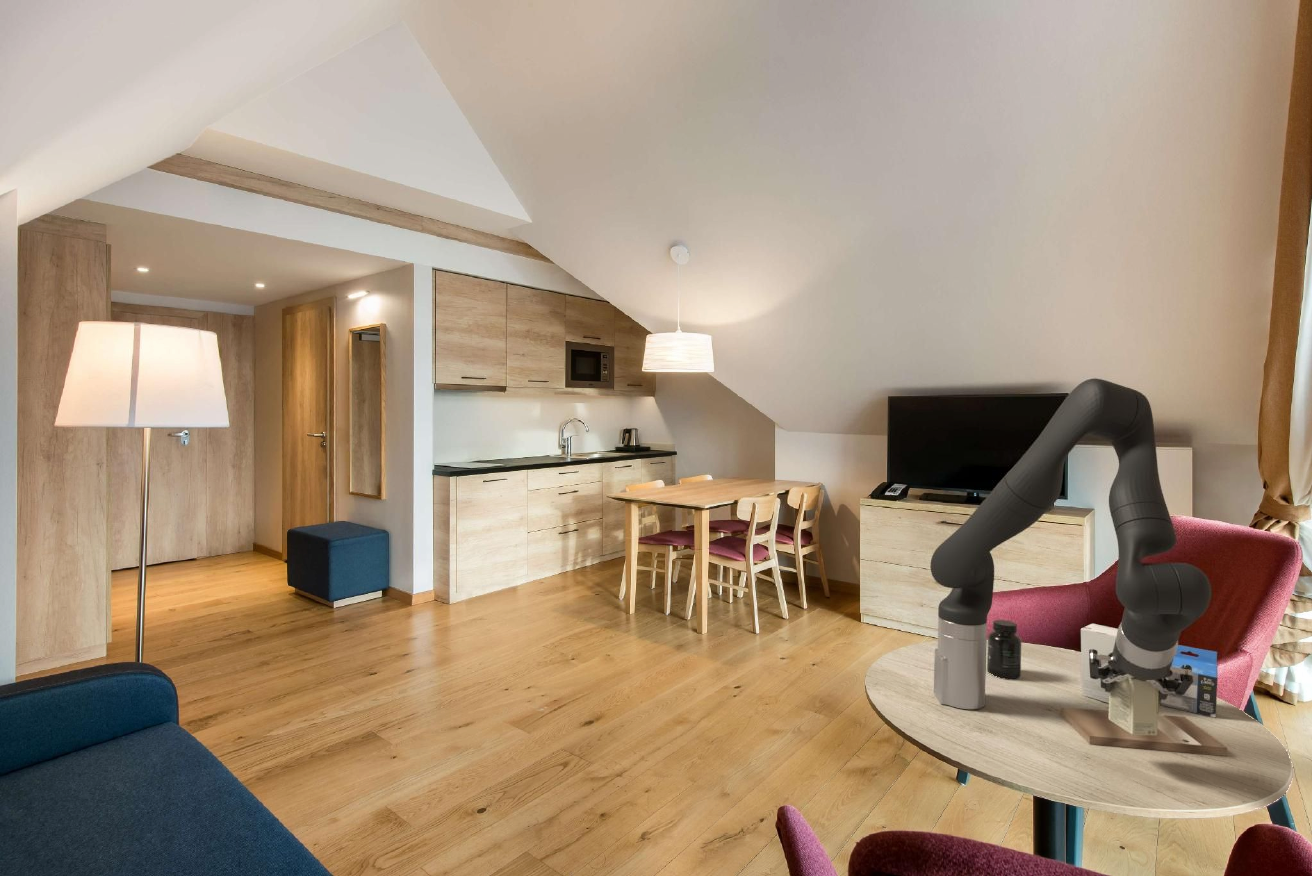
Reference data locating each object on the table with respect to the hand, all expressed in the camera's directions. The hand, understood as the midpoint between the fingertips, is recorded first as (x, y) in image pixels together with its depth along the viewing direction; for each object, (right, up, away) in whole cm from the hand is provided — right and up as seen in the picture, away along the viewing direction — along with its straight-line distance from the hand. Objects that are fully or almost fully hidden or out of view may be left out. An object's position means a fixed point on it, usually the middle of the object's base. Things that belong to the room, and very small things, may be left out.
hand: (1131, 691), depth 112 cm
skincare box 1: (+13, -12, +25) cm, 30 cm away
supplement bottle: (-2, -11, +38) cm, 39 cm away
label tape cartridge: (+27, -12, +21) cm, 35 cm away
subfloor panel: (+8, -12, +10) cm, 17 cm away
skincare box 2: (-1, -6, -1) cm, 6 cm away
